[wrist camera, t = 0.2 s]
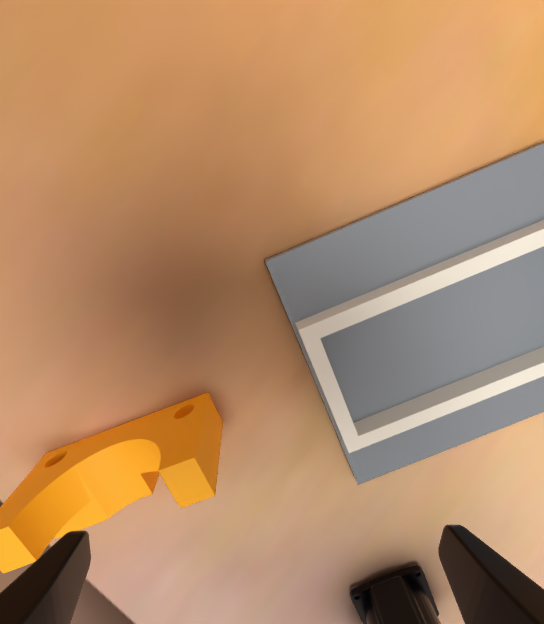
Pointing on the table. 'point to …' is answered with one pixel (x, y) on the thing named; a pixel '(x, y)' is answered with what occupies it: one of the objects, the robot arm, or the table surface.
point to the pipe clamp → (112, 476)
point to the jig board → (426, 315)
